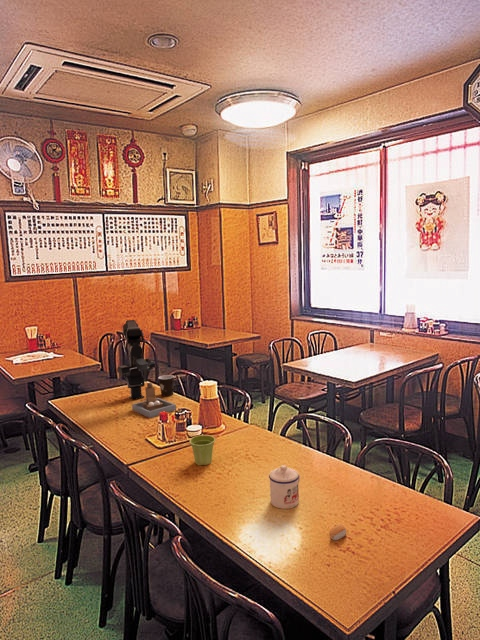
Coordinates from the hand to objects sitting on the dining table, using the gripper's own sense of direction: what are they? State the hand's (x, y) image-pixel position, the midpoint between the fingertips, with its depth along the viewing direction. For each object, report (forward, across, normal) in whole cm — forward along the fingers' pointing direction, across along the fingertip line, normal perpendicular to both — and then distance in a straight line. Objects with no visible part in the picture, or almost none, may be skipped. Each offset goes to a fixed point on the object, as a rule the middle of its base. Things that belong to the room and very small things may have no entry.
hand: (137, 383), depth 244 cm
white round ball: (+10, +5, -9) cm, 14 cm away
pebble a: (+10, +2, -9) cm, 13 cm away
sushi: (+14, -17, -139) cm, 140 cm away
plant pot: (+13, -15, -75) cm, 78 cm away
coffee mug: (+13, +22, +8) cm, 27 cm away
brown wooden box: (+12, +4, -7) cm, 15 cm away
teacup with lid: (+13, -13, -116) cm, 117 cm away
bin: (+13, +3, -8) cm, 16 cm away
